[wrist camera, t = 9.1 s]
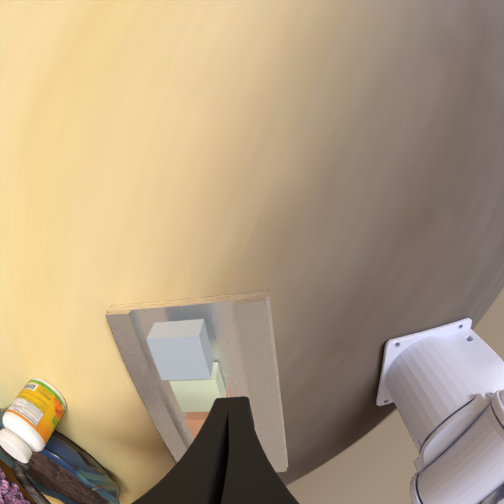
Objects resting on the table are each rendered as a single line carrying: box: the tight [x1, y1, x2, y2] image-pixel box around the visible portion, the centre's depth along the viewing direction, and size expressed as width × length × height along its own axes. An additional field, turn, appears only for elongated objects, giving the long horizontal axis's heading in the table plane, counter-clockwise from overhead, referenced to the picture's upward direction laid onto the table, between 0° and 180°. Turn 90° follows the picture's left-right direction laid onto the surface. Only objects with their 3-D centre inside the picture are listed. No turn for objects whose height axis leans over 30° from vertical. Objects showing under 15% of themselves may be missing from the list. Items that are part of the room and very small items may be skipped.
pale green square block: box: [169, 362, 226, 412], centre depth 20 cm, size 3×3×2 cm
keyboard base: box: [106, 290, 288, 472], centre depth 23 cm, size 12×22×2 cm, turn 8°
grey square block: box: [146, 319, 214, 380], centre depth 18 cm, size 3×3×2 cm
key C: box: [185, 412, 209, 439], centre depth 22 cm, size 3×3×2 cm
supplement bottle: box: [0, 378, 66, 463], centre depth 20 cm, size 5×5×10 cm
